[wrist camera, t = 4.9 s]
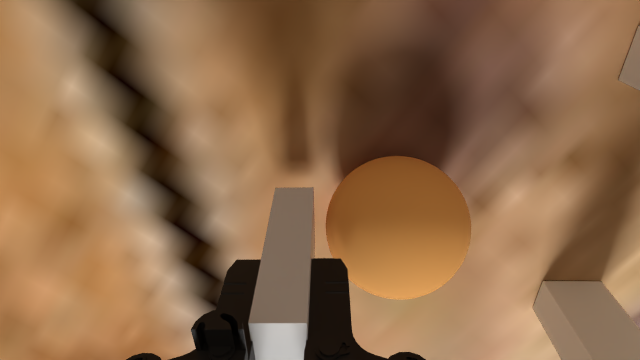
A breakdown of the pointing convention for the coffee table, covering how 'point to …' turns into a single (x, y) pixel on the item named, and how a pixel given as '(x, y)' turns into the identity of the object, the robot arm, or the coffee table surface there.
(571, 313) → the bridge
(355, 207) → the ball
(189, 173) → the coffee table surface
